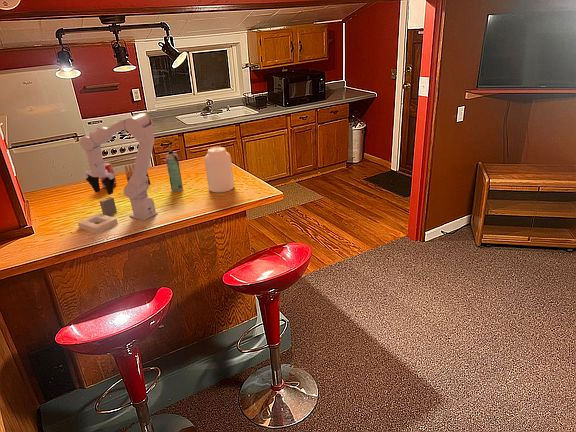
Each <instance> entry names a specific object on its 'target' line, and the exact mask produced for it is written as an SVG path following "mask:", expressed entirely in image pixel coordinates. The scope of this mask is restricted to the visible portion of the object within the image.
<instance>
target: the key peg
mask: <svg viewBox="0 0 576 432" xmlns="http://www.w3.org/2000/svg"><path fill="white" fill-rule="evenodd" d="M99 205H100V207H101V208H100V209H101V211H102V214H103V215H107V216H110V217H111V216H112V215H114V214H116V213H118V210H117V206H116V202H115V199H114V197H111V196H108V197H107V198H106V197H105V198H104V199H101V200H99Z"/></svg>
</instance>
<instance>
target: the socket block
mask: <svg viewBox="0 0 576 432" xmlns="http://www.w3.org/2000/svg"><path fill="white" fill-rule="evenodd" d="M118 222H119V221H118V218H116V217H113V216H111V215H110V216H107V215H103V213H99V212H98V213H95V214H92V215H91V216H89V217H87V218H85V219H82V220H79V221H78V222H77V225H78V228H79V229H82V230H84V231H87V232H90V233H93V234H96V235H98V234H100V233H103V232H105V231H106V230H109V229H110V228H112V227H114V226H116V225H118V224H119V223H118Z"/></svg>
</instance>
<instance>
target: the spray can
mask: <svg viewBox="0 0 576 432" xmlns="http://www.w3.org/2000/svg"><path fill="white" fill-rule="evenodd" d="M165 161H166V167H167V171H168V177H169V183H170V190H171V191H172V192H175V193H178V192H181V191H184V187H183V182H182V173H181V169H180V163H179V157H178V154H177V153H175V152H174V151H173V150H172V149H170V150H168V153H167V154H166V155H165Z"/></svg>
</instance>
